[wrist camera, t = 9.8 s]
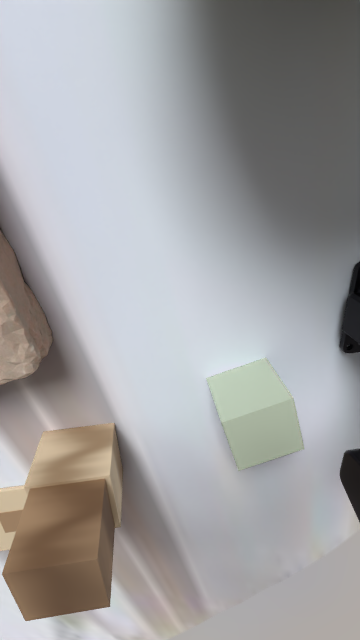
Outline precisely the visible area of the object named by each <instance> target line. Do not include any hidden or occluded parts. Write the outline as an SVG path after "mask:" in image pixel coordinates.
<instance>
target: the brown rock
mask: <svg viewBox="0 0 360 640" xmlns="http://www.w3.org/2000/svg"><path fill="white" fill-rule="evenodd" d="M51 334H52V331H51V329H50V328H49V326H48V324H47V320H46V316H45V314H44V312H43V310H42V308H41V307H40V305H39V303H38V301H37V299H36V297H35V295H34V294H33V292H32V291H31V289H30V288H29V287H28V286H27V284H26V283H24V281H23V276H22V274H21V271H20V267H19V264H18V261H17V259H16V256H15V253H14V251H13V249H12V248H11V246H10V245H9V243H8V241H7V240H6V238H5V237H4V235H3V234H2V232H1V229H0V385H2V384H5V383H8V382H10V381H13V380H17V379H22V378H26V377H28V376H29V375H31V374H33V373H34V372H35V371H36V370H37V369H38V368H39V363H41V360H42V358H44V357H45V356H47V355H48V351H49V347H50V346H51V345H52V341H53V338H52V335H51Z"/></svg>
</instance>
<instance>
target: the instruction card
mask: <svg viewBox="0 0 360 640" xmlns="http://www.w3.org/2000/svg"><path fill="white" fill-rule="evenodd" d="M24 486H25V485H23V486H16V487H9V488H1V489H0V551H4V550H10V548H11V545H12V542H13V539H14V536H15V533H16V530H17V527H18V524H19V521H20V518H21V514H22V511H23V508H24V505H25V502H26V499H27V494H26V491H25V488H24Z"/></svg>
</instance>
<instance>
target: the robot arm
mask: <svg viewBox="0 0 360 640" xmlns="http://www.w3.org/2000/svg"><path fill="white" fill-rule="evenodd" d="M342 330H343V331H342V336H341V341H340V348H341V349H342V350H343V351H344V352H345V353H355V352H360V262H358V263H357V264H356V265H355V268H354V272H353V278H352V283H351V288H350V294H349V296H348V300H347V306H346V311H345V316H344V322H343V327H342ZM349 344H350V345H349ZM347 345H349V346H348V347H347ZM340 479H341V482H342V484H343V486H344V489H345V491H346V493H347V495H348V497H349V500H350V502H351V504H352V506H353V508H354V511H355V513H356V515H357V517H358V520H359V522H360V449H353V450H347V451H346V452H345V453H344V456H343V460H342V464H341V468H340Z"/></svg>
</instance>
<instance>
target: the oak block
mask: <svg viewBox="0 0 360 640" xmlns="http://www.w3.org/2000/svg"><path fill="white" fill-rule="evenodd" d="M98 479H105V480H106V485H107V490H108V494H109V499H110V504H111V509H112V513H113V518H114V523H115V528H118V527H121V506H122V482H123V469H122V463H121V458H120V452H119V447H118V441H117V436H116V430H115V424H114V423H109V424H101V425H93V426H85V427H77V428H69V429H61V430H53V431H45V432H43V434H42V437H41V440H40V442H39V445H38V448H37V451H36V454H35V457H34V460H33V463H32V466H31V468H30V471H29V474H28V477H27V480H26V483H25V486H24V488H25V491H26V494H27V496H28V493H29V490H30V489H31V488H39V487H46V486H53V485H61V484H68V483H75V482H83V481H90V480H98Z"/></svg>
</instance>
